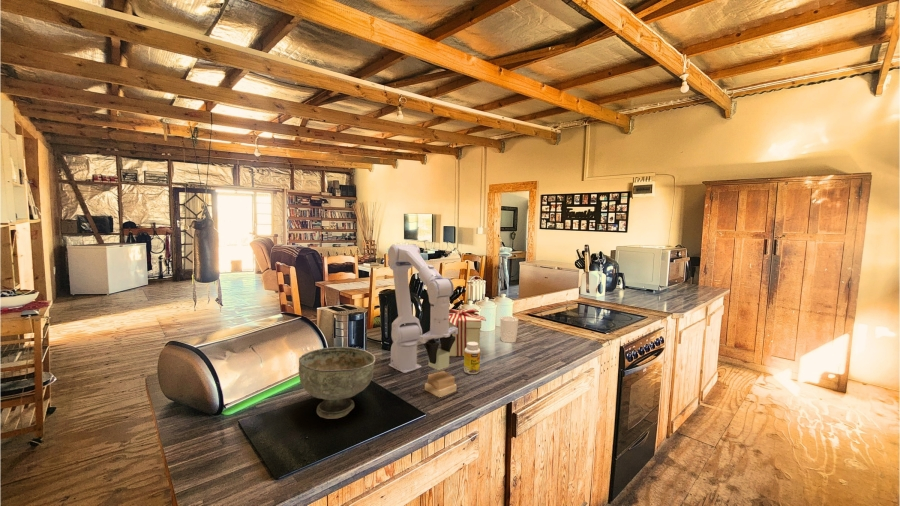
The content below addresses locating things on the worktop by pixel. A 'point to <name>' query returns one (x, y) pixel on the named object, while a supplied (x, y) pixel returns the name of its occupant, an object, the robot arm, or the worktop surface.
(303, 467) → the worktop surface
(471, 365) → the supplement bottle
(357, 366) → the bowl
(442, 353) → the cube
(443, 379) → the top slab
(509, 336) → the beige speckled cup
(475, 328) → the gift box
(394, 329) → the robot arm
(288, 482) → the worktop surface
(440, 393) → the bottom slab
